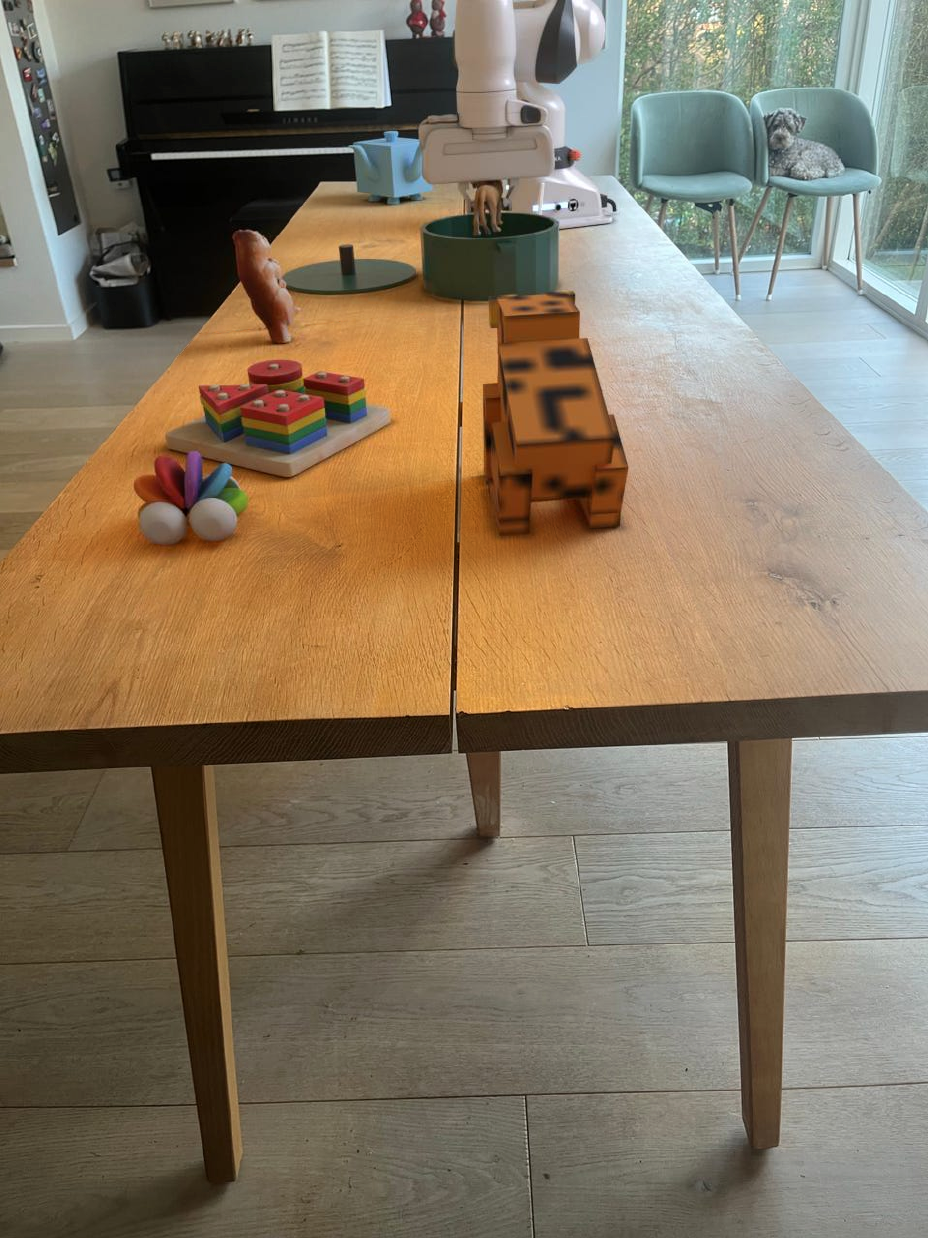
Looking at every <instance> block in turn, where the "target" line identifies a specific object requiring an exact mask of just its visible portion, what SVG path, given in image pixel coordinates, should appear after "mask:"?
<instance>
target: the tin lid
mask: <svg viewBox="0 0 928 1238" xmlns="http://www.w3.org/2000/svg"><path fill="white" fill-rule="evenodd" d="M338 253H339V259H337V260H336V259H335V260H329V261H323V262H316V263H311V264H307V265H304V266H300V267H297V268H294V269H291V270H288V271H287V272H285V273H284V274H283V275H282V278H281V279H282V280H284V281H285V282H286V289H287V290H291V291H294V292H299V293H304V294H311V295H314V294H315V295H348V294H349V295H352V294H362V293H370V292H376V291H382V290H387V289H391V288H394V287H398V286H401V285H404V284H407V283H408V282H410V281H413V279H415V278H416V275H417V271H416V268H415V267H414V266H413V265H411V264H409V263H406V262H402V261H398V260H391V259H381V258H355V249H354V245H353V244H347V243H346V244H341V245H339V246H338Z"/></svg>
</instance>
